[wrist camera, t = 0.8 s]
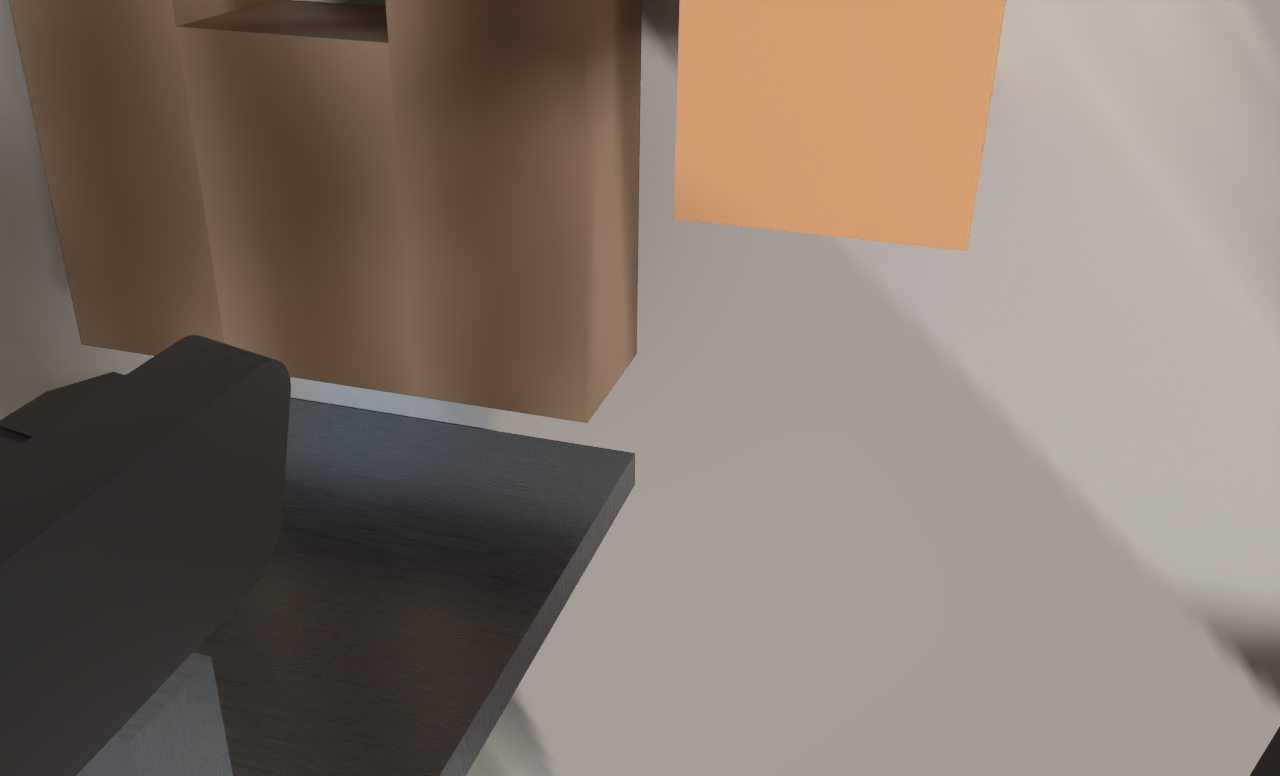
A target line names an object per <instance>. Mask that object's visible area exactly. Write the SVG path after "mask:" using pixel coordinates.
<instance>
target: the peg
mask: <svg viewBox="0 0 1280 776" xmlns="http://www.w3.org/2000/svg"><path fill="white" fill-rule="evenodd" d="M1005 2H1006V0H680V1H679V36H678V72H677V108H676V109H677V110H676V144H675V145H676V146H675V180H674V215H673V219H680V220H689V221H698V222H707V223H716V224H726V225H734V226H744V227H753V228H762V229H771V230H780V231H789V232H798V233H807V234H817V235H826V236H835V237H844V238H853V239H862V240H871V241H881V242H890V243H899V244H908V245H917V246H926V247H936V248H945V249H954V250H963V251H967V249H968V243H969V236H970V230H971V223H972V217H973V211H974V204H975V198H976V192H977V185H978V179H979V172H980V166H981V160H982V153H983V147H984V141H985V134H986V128H987V121H988V115H989V109H990V102H991V96H992V90H993V83H994V77H995V70H996V64H997V57H998V50H999V43H1000V36H1001V29H1002V22H1003V15H1004V8H1005Z"/></svg>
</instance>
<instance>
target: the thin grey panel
mask: <svg viewBox="0 0 1280 776" xmlns="http://www.w3.org/2000/svg"><path fill="white" fill-rule="evenodd" d="M634 484H635V453H629V452H623V451H616V450H610V449H604V448H598V447H592V446H585V445H579V444H573V443H567V442H560V441H554V440H548V439H542V438H535V437H529V436H523V435H517V434H510V433H504V432H498V431H492V430H486V429H479V428H473V427H467V426H461V425H454V424H448V423H442V422H436V421H429V420H423V419H417V418H411V417H404V416H398V415H392V414H386V413H380V412H373V411H367V410H361V409H355V408H348V407H342V406H336V405H330V404H323V403H317V402H311V401H305V400H298V399H292V398H290V408H289V423H288V438H287V453H286V468H285V483H284V498H283V513H282V522H281V528H280V533H279V536H278V540H277V543H276V546H275V549H274V552H273V554H272V556H271V559H270V561H269V563H268V565H267V567H266V569H265V571H264V573H263V574H262V576H261V578H260V579H259V581H258V582H257V584H256V585H255V586H254V588H253V589H252V590H251V591H250V592H249V594H248V595H247V596H246V597H245V598H244V599H243V600H242V601H241V602H240V603H239V604H238V605H237V606H236V607H235V608H234V610H233V611H232V612H231V613H230V614H229V615H228V616H227V617H226V618H225V619H224V620H223V621H222V622H221V623H220V624H219V625H218V626H217V627H216V629H215V630H214V631H213V632H212V633H211V634H210V635H209V636H208V637H207V638H206V639H205V640H204V641H203V642H202V643H201V644H200V645H199V646H198V648H197V649H196V650H195V651H194V652H193V653H192V654H191V655H190V656H189V657H188V658H187V659H186V660H185V661H184V662H183V663H182V664H181V665H180V667H179V668H178V669H177V670H176V671H175V672H174V673H173V674H172V675H171V676H170V677H169V678H168V679H167V680H166V681H165V682H164V683H163V685H162V686H161V687H160V688H159V689H158V690H157V691H156V692H155V693H154V694H153V695H152V696H151V697H150V698H149V699H148V700H147V701H146V702H145V704H144V705H143V706H142V707H141V708H140V709H139V710H138V711H137V712H136V713H135V714H134V715H133V716H132V717H131V718H130V719H129V720H128V721H127V723H126V724H125V725H124V726H123V727H122V728H121V729H120V730H119V731H118V732H117V733H116V734H115V735H114V736H113V737H112V738H111V739H110V740H109V742H108V743H107V744H106V745H105V746H104V747H103V748H102V749H101V750H100V751H99V752H98V753H97V754H96V755H95V756H94V757H93V758H92V759H91V761H90V762H89V763H88V764H87V765H86V766H85V767H84V768H83V769H82V770H81V771H80V772H79V773H78V774H77V775H76V776H466V774H467V773H468V771H469V769H470V768H471V766H472V764H473V762H474V761H475V759H476V757H477V756H478V754H479V752H480V750H481V749H482V747H483V745H484V743H485V742H486V740H487V738H488V737H489V735H490V733H491V731H492V730H493V728H494V726H495V724H496V723H497V721H498V719H499V718H500V716H501V714H502V712H503V711H504V709H505V707H506V706H507V704H508V702H509V700H510V699H511V697H512V695H513V693H514V692H515V690H516V688H517V687H518V685H519V683H520V681H521V680H522V678H523V676H524V674H525V673H526V671H527V669H528V668H529V666H530V664H531V662H532V661H533V659H534V657H535V655H536V654H537V652H538V650H539V649H540V647H541V645H542V643H543V642H544V640H545V638H546V637H547V635H548V633H549V631H550V630H551V628H552V626H553V624H554V623H555V621H556V619H557V618H558V616H559V614H560V612H561V611H562V609H563V607H564V606H565V604H566V602H567V600H568V599H569V597H570V595H571V593H572V592H573V590H574V588H575V586H576V585H577V583H578V581H579V579H580V578H581V576H582V575H583V573H584V571H585V569H586V568H587V566H588V564H589V562H590V560H591V559H592V557H593V556H594V554H595V552H596V550H597V549H598V547H599V545H600V543H601V542H602V540H603V538H604V537H605V535H606V533H607V531H608V530H609V528H610V526H611V525H612V523H613V521H614V519H615V518H616V516H617V514H618V512H619V511H620V509H621V507H622V505H623V504H624V502H625V500H626V499H627V497H628V495H629V493H630V492H631V490H632V488H633V487H634Z"/></svg>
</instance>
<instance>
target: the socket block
mask: <svg viewBox="0 0 1280 776" xmlns="http://www.w3.org/2000/svg"><path fill="white" fill-rule="evenodd" d="M9 3H10V8H11V13H12V17H13V22H14V27H15V31H16V36H17V41H18V46H19V50H20V55H21V60H22V65H23V69H24V74H25V79H26V84H27V88H28V93H29V98H30V102H31V107H32V112H33V117H34V121H35V126H36V131H37V136H38V140H39V145H40V150H41V154H42V159H43V164H44V169H45V173H46V178H47V183H48V188H49V192H50V197H51V202H52V207H53V211H54V216H55V221H56V225H57V230H58V235H59V240H60V244H61V249H62V254H63V259H64V263H65V268H66V273H67V277H68V282H69V287H70V292H71V296H72V301H73V306H74V311H75V315H76V320H77V325H78V329H79V334H80V339H81V344H82V345H89V346H95V347H102V348H108V349H114V350H121V351H127V352H134V353H140V354H147V355H153V356H156V355H157V354H159V353H160V352H162V351H163V350H165V349H166V348H168V347H170V346H171V345H173V344H174V343H176V342H177V341H179V340H180V339H182V338H184V337H186V336H190V335H200V336H203V337H206V338H209V339H212V340H215V341H218V342H222V343H225V344H228V345H231V346H234V347H237V348H240V349H243V350H247V351H250V352H253V353H256V354H259V355H262V356H265V357H269V358H272V359H275V360H278V361H280V362H282V363H283V364H284V365H285V366H286V368H287V370H288V373H289V377H295V378H301V379H308V380H314V381H321V382H327V383H334V384H340V385H347V386H353V387H359V388H366V389H372V390H379V391H385V392H392V393H398V394H405V395H411V396H417V397H424V398H430V399H437V400H443V401H450V402H456V403H463V404H469V405H475V406H482V407H488V408H495V409H501V410H508V411H514V412H521V413H527V414H533V415H540V416H546V417H553V418H559V419H566V420H572V421H579V422H585V423H588V421H589V420H590V418H591V417H592V416H593V414H594V413H595V412H596V410H597V409H598V407H599V406H600V404H601V403H602V402H603V400H604V399H605V398H606V396H607V395H608V393H609V392H610V391H611V389H612V387H613V386H614V385H615V383H616V382H617V381H618V379H619V378H620V376H621V375H622V374H623V372H624V371H625V369H626V368H627V367H628V365H629V364H630V362H631V361H632V359H633V358H634V357H635V355H636V353H637V352H636V351H637V350H636V349H637V284H638V216H639V148H640V146H639V145H640V80H641V79H640V78H641V75H640V74H641V12H642V0H385V3H386V7H378V6H363V5H349V4H334V3H320V2H305V1H290V0H9Z"/></svg>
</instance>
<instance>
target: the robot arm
mask: <svg viewBox="0 0 1280 776" xmlns="http://www.w3.org/2000/svg"><path fill="white" fill-rule="evenodd" d="M290 389H291V385H290V377H289V373H288V370H287V368H286V366H285V365H284V364H283V363H282V362H280V361H278V360H275V359H272V358H269V357H265V356H262V355H259V354H256V353H253V352H250V351H247V350H243V349H240V348H237V347H234V346H231V345H228V344H225V343H222V342H218V341H215V340H212V339H209V338H206V337H203V336H200V335H190V336H186V337H184V338H182V339H180V340H179V341H177V342H176V343H174V344H173V345H171V346H170V347H168V348H166V349H165V350H163V351H162V352H160V353H159V354H157V355H156V356H154V357H153V358H151V359H150V360H148V361H147V362H145V363H144V364H142V365H141V366H139V367H138V368H136V369H135V370H133V371H132V372H130V373H129V374H127V375H125V376H124V375H121V374H118V373H115V372H111V373H108V374H105V375H101V376H98V377H95V378H91V379H88V380H84V381H81V382H78V383H74V384H71V385H68V386H64V387H61V388H58V389H54V390H51V391H47V392H45V393H44V394H42V395H40V396H39V397H37V398H36V399H34V400H32V401H31V402H29V403H28V404H26V405H24V406H23V407H21V408H20V409H18V410H16V411H15V412H13V413H11V414H10V415H8V416H7V417H5V418H3V419H2V420H0V776H76V775H77V774H78V773H79V772H80V771H81V770H82V769H83V768H84V767H85V766H86V765H87V764H88V763H89V762H90V761H91V759H92V758H93V757H94V756H95V755H96V754H97V753H98V752H99V751H100V750H101V749H102V748H103V747H104V746H105V745H106V744H107V743H108V742H109V740H110V739H111V738H112V737H113V736H114V735H115V734H116V733H117V732H118V731H119V730H120V729H121V728H122V727H123V726H124V725H125V724H126V723H127V721H128V720H129V719H130V718H131V717H132V716H133V715H134V714H135V713H136V712H137V711H138V710H139V709H140V708H141V707H142V706H143V705H144V704H145V702H146V701H147V700H148V699H149V698H150V697H151V696H152V695H153V694H154V693H155V692H156V691H157V690H158V689H159V688H160V687H161V686H162V685H163V683H164V682H165V681H166V680H167V679H168V678H169V677H170V676H171V675H172V674H173V673H174V672H175V671H176V670H177V669H178V668H179V667H180V665H181V664H182V663H183V662H184V661H185V660H186V659H187V658H188V657H189V656H190V655H191V654H192V653H193V652H194V651H195V650H196V649H197V648H198V646H199V645H200V644H201V643H202V642H203V641H204V640H205V639H206V638H207V637H208V636H209V635H210V634H211V633H212V632H213V631H214V630H215V629H216V627H217V626H218V625H219V624H220V623H221V622H222V621H223V620H224V619H225V618H226V617H227V616H228V615H229V614H230V613H231V612H232V611H233V610H234V608H235V607H236V606H237V605H238V604H239V603H240V602H241V601H242V600H243V599H244V598H245V597H246V596H247V595H248V594H249V592H250V591H251V590H252V589H253V588H254V586H255V585H256V584H257V582H258V581H259V579H260V578H261V576H262V574H263V573H264V571H265V569H266V567H267V565H268V563H269V561H270V559H271V556H272V554H273V552H274V549H275V546H276V543H277V540H278V536H279V533H280V528H281V522H282V513H283V498H284V483H285V468H286V453H287V438H288V423H289V408H290ZM1250 776H1280V727H1279V729H1278V731H1277V732H1276V734H1275V735H1274V737H1273V739H1272V740H1271V742H1270V744H1269V745H1268V747H1267V748H1266V750H1265V752H1264V753H1263V755H1262V757H1261V758H1260V760H1259V761H1258V763H1257V765H1256V766H1255V768H1254V770H1253V771H1252V773H1251V775H1250Z"/></svg>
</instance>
